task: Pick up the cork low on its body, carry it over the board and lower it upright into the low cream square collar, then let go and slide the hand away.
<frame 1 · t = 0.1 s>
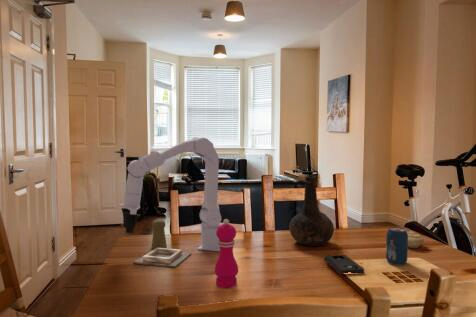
hand: (127, 230, 136), 11 cm above the table, tool pointing down, fingers open, 7 cm apart
collar board: (163, 258, 136), on the table
dark bottle vase: (311, 243, 155), on the table
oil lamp: (409, 245, 153), on the table
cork: (159, 247, 150), on the table
pepper mill: (226, 284, 114), on the table
soda can: (396, 263, 132), on the table
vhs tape: (343, 268, 128), on the table
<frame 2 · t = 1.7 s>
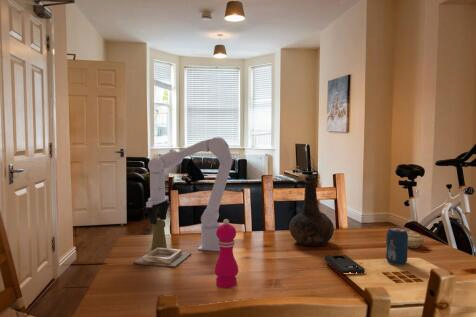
hand: (158, 221, 149), 10 cm above the table, tool pointing down, fingers open, 7 cm apart
nothing on the table moved.
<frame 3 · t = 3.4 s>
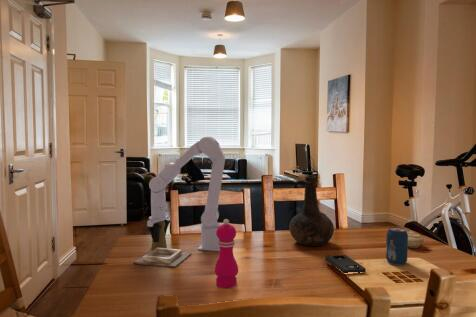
hand: (159, 240, 150), 3 cm above the table, tool pointing down, fingers closed on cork, 5 cm apart
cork: (159, 247, 150), on the table, touching gripper
everything else where it was.
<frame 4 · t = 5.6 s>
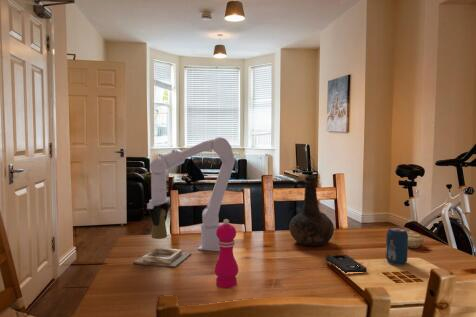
hand: (159, 223, 146), 10 cm above the table, tool pointing down, fingers closed on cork, 5 cm apart
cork: (159, 237, 147), point 5 cm above the table, touching gripper
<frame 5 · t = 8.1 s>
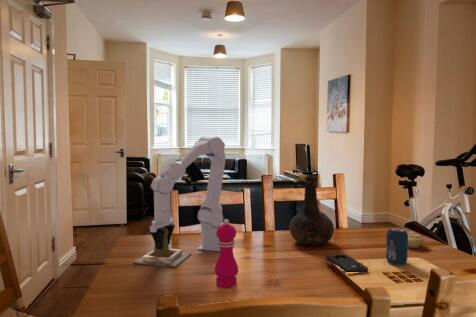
hand: (163, 246, 136), 5 cm above the table, tool pointing down, fingers closed on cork, 5 cm apart
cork: (161, 257, 136), resting on collar board, touching gripper
when the fingers open (5 cm above the table, at t = 9.2 s): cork stays where it is, resting on collar board.
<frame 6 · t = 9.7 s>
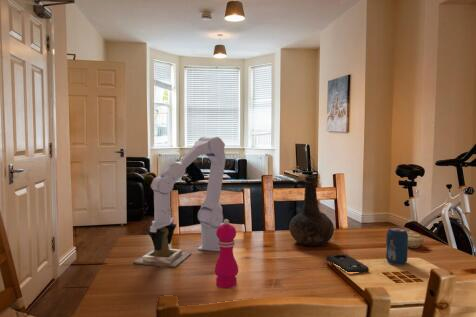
hand: (163, 246, 136), 5 cm above the table, tool pointing down, fingers open, 7 cm apart
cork: (161, 257, 136), resting on collar board
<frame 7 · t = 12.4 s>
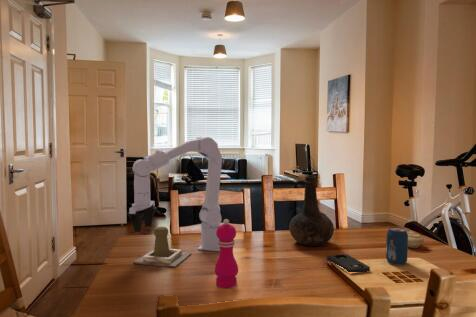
hand: (143, 229, 137), 10 cm above the table, tool pointing down, fingers open, 7 cm apart
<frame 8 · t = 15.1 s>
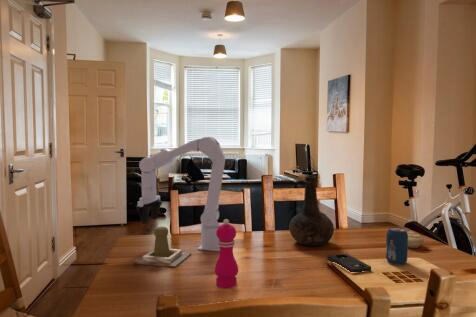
hand: (149, 221, 150), 10 cm above the table, tool pointing down, fingers open, 7 cm apart
at the end: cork 0.7 cm off-centre on the collar board, point 0.4 cm above the collar board's base; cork tilted 0°; the gripper is holding nothing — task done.
